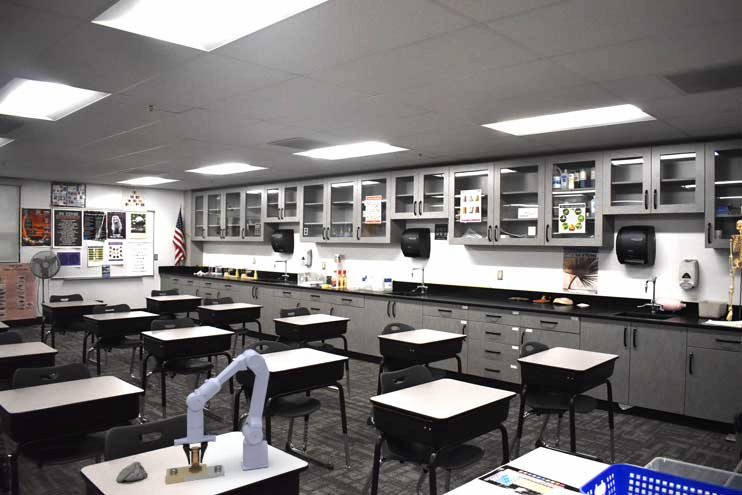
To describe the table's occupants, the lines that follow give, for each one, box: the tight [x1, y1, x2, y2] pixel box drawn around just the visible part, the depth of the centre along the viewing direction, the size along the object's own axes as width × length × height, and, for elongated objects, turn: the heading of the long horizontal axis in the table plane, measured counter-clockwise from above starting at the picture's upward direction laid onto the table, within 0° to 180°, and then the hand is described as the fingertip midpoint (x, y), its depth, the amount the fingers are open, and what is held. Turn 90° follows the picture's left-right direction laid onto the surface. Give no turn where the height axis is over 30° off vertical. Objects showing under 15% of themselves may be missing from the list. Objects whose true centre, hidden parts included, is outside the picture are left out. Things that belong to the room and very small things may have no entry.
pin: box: [190, 445, 201, 469], centre depth 196 cm, size 4×4×7 cm
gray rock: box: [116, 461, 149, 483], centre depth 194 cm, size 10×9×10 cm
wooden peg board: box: [165, 463, 225, 485], centre depth 195 cm, size 20×8×3 cm, turn 110°
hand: (195, 463), depth 195 cm, fingers closed on pin, 3 cm apart
